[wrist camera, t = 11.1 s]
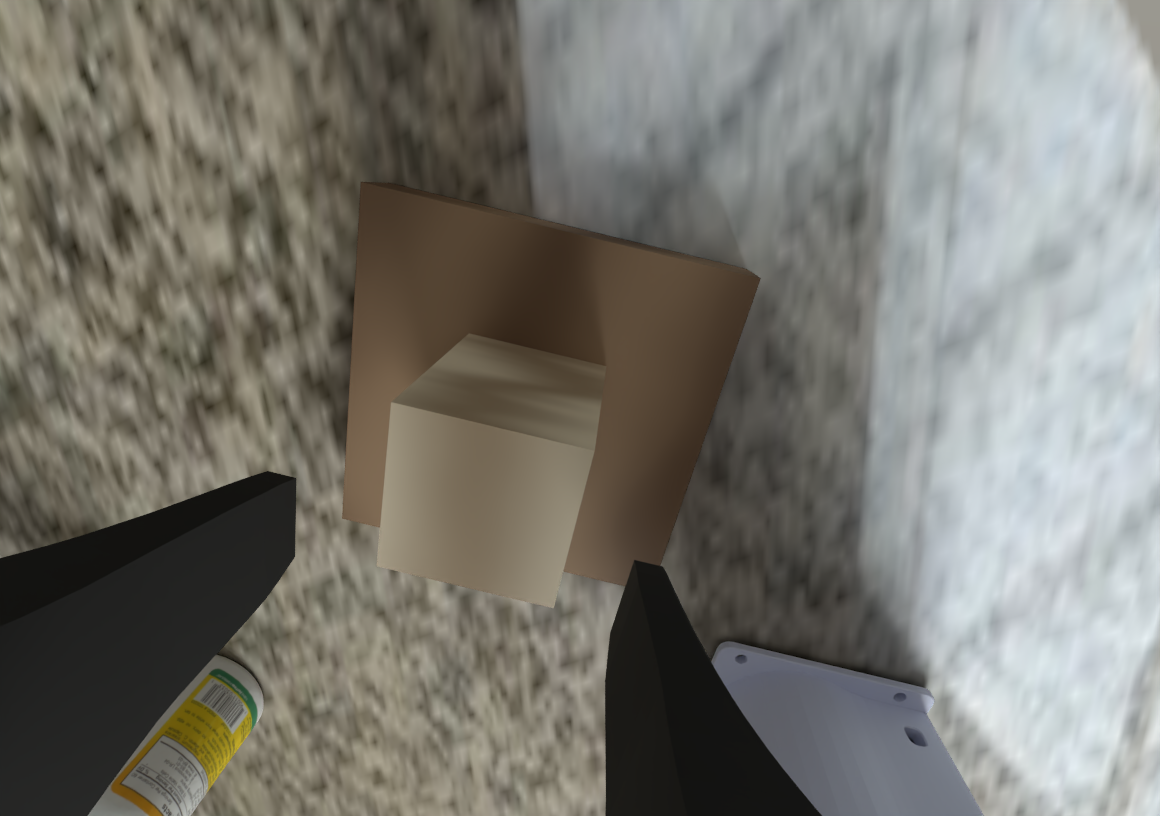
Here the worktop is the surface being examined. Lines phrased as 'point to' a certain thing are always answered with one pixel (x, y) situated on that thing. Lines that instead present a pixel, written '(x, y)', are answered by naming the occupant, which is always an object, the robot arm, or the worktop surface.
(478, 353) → the beech block
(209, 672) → the supplement bottle
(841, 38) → the worktop surface
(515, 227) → the walnut plinth
